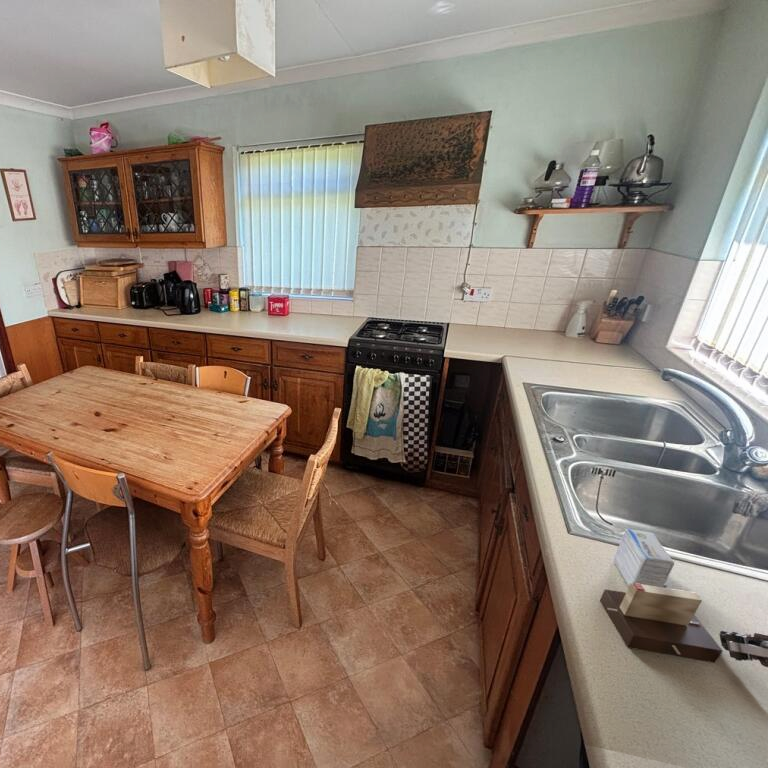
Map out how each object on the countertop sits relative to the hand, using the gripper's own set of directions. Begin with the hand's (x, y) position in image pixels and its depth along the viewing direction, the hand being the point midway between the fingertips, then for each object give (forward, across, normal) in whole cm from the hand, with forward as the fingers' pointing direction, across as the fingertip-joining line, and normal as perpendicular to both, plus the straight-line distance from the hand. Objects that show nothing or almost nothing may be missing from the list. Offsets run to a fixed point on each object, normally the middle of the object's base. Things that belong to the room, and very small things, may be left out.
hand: (728, 640), depth 54 cm
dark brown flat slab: (+20, +3, -1) cm, 21 cm away
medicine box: (+28, +6, +7) cm, 30 cm away
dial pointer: (+18, +2, +1) cm, 18 cm away
